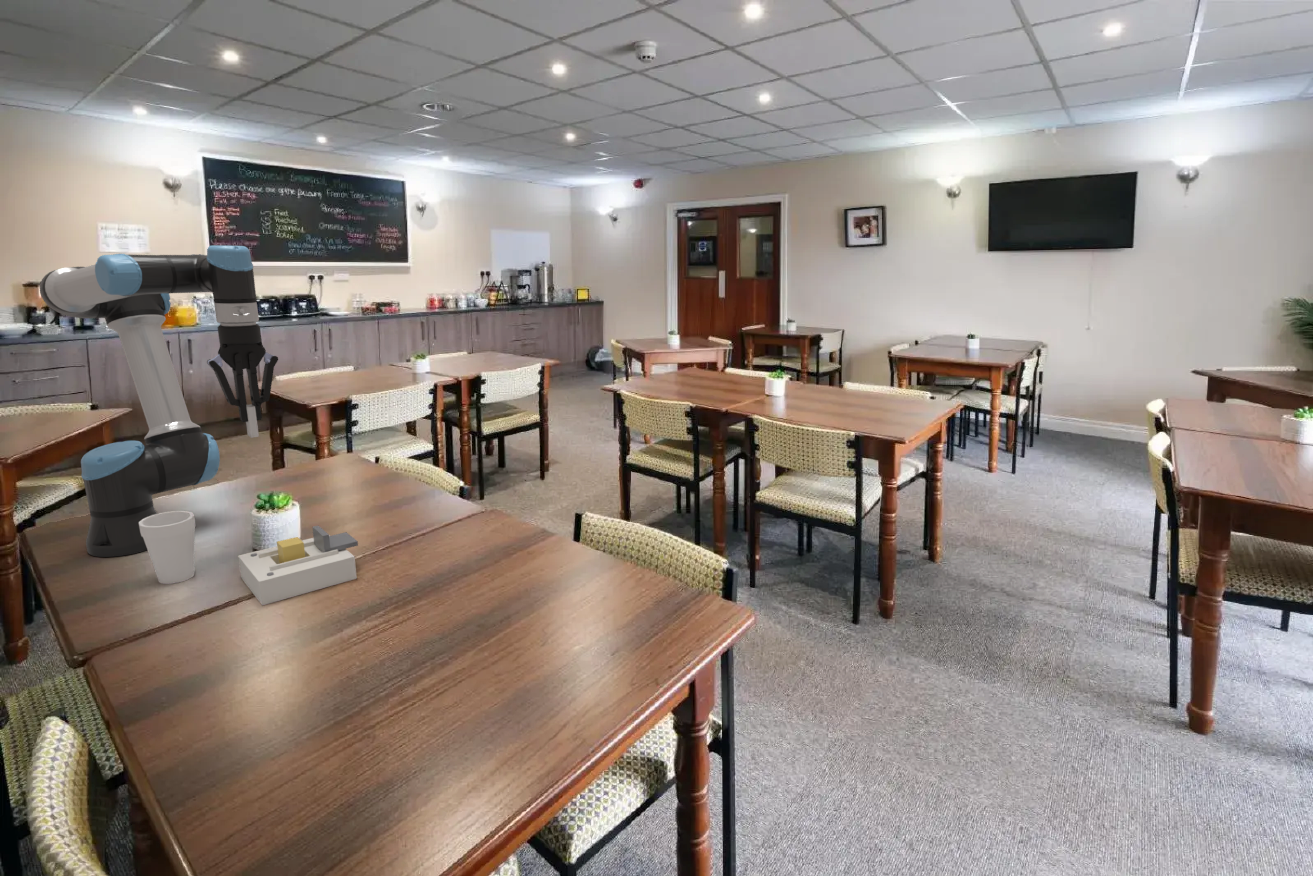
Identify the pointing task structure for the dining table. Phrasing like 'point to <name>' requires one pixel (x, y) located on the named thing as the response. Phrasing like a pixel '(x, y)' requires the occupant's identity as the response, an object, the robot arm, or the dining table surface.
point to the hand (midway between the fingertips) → (253, 435)
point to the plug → (290, 549)
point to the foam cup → (170, 544)
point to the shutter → (332, 540)
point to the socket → (294, 572)
